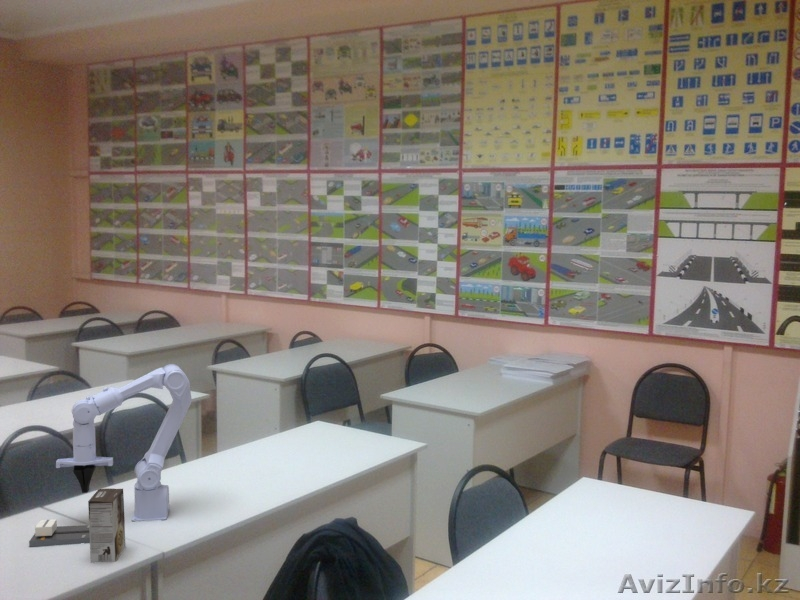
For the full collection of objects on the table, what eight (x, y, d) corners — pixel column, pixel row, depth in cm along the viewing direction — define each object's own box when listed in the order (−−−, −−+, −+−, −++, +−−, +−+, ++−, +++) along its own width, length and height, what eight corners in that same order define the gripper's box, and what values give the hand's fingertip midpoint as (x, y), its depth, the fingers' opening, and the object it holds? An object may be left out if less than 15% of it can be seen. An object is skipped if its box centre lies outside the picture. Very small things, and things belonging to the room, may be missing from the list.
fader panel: (101, 529, 207) (101, 524, 207) (94, 543, 199) (94, 537, 198) (39, 532, 205) (39, 527, 204) (29, 546, 196) (29, 540, 196)
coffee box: (100, 549, 195) (98, 488, 194) (126, 548, 196) (124, 487, 195) (89, 564, 186) (86, 500, 185) (116, 563, 187) (114, 499, 186)
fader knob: (56, 527, 203) (56, 518, 203) (51, 535, 198) (51, 526, 198) (40, 528, 203) (40, 519, 202) (35, 536, 198) (35, 527, 197)
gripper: (114, 438, 214) (115, 485, 215) (60, 440, 211) (61, 487, 213) (109, 446, 207) (110, 494, 208) (53, 447, 204) (54, 496, 206)
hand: (85, 491), depth 210 cm, fingers closed
